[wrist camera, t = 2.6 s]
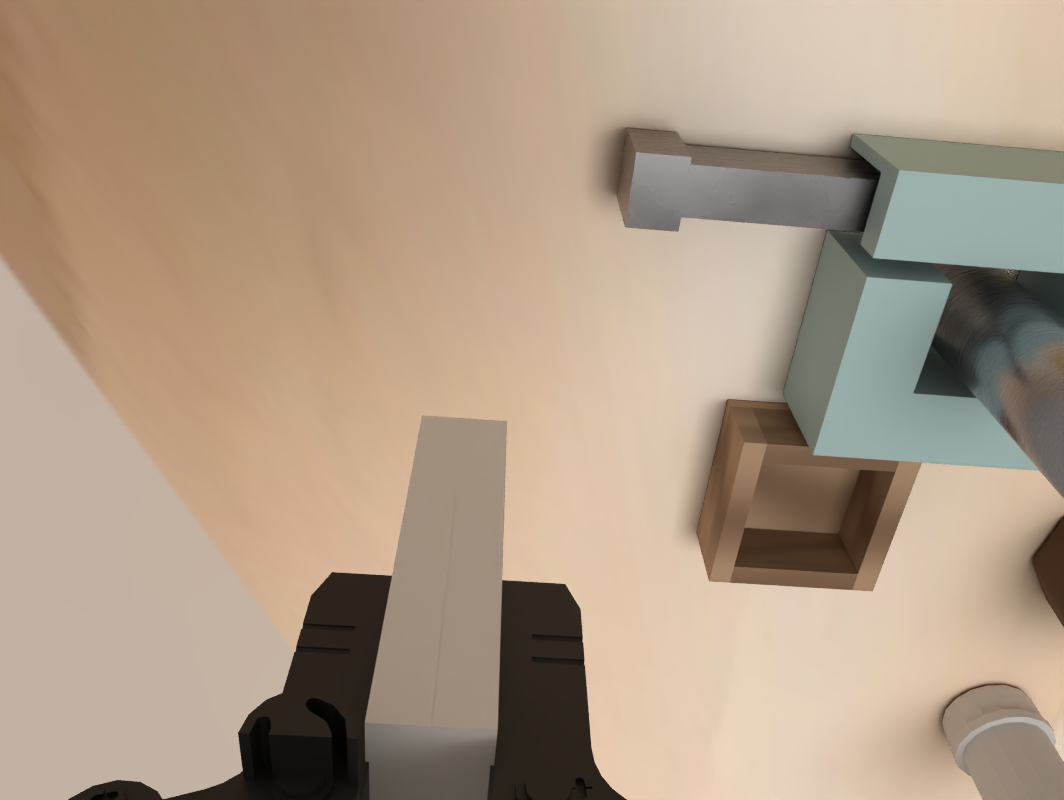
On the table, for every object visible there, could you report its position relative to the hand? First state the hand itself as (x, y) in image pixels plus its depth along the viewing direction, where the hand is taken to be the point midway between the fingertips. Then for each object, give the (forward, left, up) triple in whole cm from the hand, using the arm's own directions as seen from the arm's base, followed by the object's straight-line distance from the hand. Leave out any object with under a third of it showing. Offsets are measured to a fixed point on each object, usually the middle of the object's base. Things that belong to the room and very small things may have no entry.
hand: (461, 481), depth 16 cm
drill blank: (+4, +20, -22) cm, 30 cm away
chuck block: (+4, +20, -22) cm, 30 cm away
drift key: (0, +10, -22) cm, 24 cm away
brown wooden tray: (+14, +16, -22) cm, 31 cm away
